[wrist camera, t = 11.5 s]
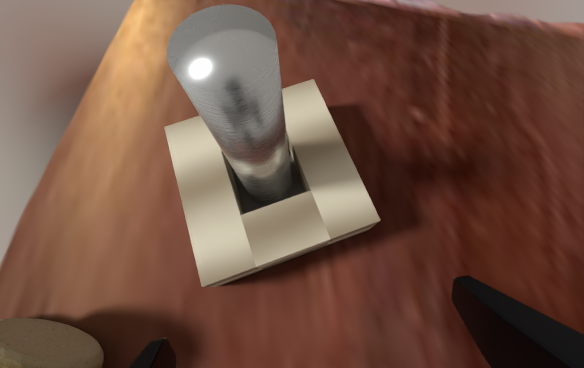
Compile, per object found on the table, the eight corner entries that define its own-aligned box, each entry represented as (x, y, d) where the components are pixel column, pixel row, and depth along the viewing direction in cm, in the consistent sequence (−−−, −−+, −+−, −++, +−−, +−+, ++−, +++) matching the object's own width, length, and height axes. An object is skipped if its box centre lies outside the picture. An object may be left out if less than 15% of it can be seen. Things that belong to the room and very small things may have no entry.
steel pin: (301, 184, 22) (299, 43, 9) (268, 215, 22) (213, 111, 8) (270, 155, 23) (228, -11, 10) (238, 184, 22) (145, 46, 9)
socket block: (367, 230, 22) (380, 220, 18) (220, 286, 21) (201, 287, 17) (311, 108, 26) (313, 79, 22) (185, 150, 25) (164, 127, 21)
